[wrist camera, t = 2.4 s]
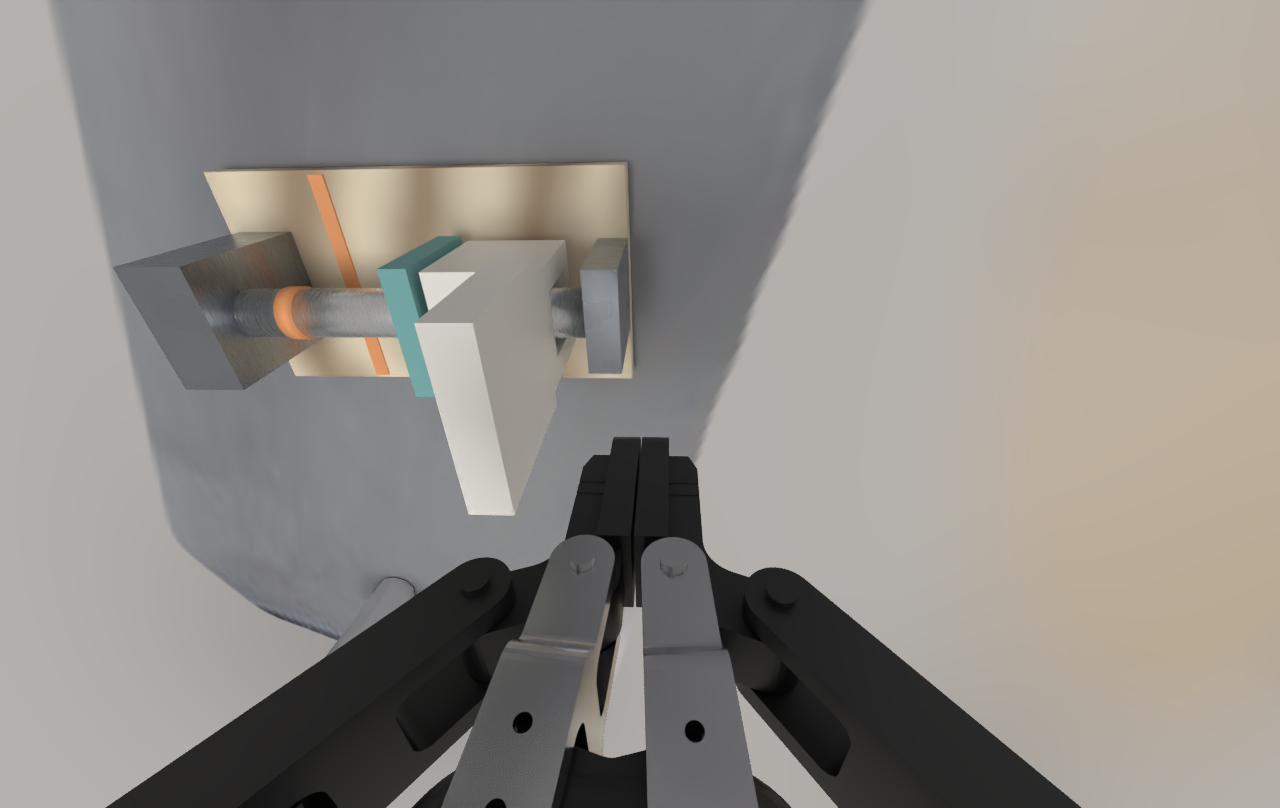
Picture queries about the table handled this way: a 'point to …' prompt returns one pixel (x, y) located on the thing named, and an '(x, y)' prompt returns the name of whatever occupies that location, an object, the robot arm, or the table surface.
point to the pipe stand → (376, 265)
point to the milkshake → (377, 607)
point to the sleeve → (494, 360)
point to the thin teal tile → (412, 302)
